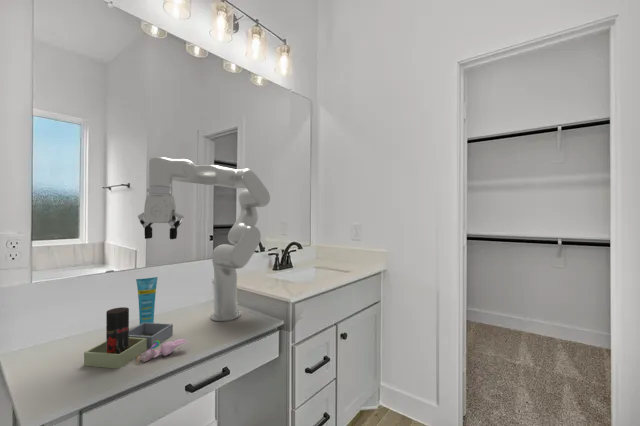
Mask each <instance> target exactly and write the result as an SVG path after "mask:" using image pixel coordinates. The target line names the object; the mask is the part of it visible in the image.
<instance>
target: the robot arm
mask: <svg viewBox="0 0 640 426" xmlns="http://www.w3.org/2000/svg"><path fill="white" fill-rule="evenodd" d="M173 181H175V182H181V183H190V184H191V183H192V184H198V185H206V186H214V187H215V186H217V187H225V188H230V189H243V190H242V191H241V192H240V193H239V195H238V202H239V206H240V214H239V215H238V217H237V219H236V220H235V222H234V224H233V225H232V227H231V228H230V230H229V231H228V234H227V241H228V242H229V243H230V244H225V243H223V244H220V245H218V246H216V247H214V249H213V251H212V253H211V254H212V255H211V261H212V266H213V277H214V279H213V282H214V283H213V285H214V286H213V295H214V296H213V312H211V313H210V317H209V318H210V319H211V321H216V322H229V321H233V320H236V319H238V318H239V317H240V316H241V311H240V310H238V309H237V307H238V306H239V302H238V295H237V294H238V273H237V270H240V269H242V268H244V267H245V266H246V265H248V263H249V261H250V260H251V259H252V257H253V255H254V253H255V251H256V250H257V248H258V246H259V244H260V242H261V235H262V234H261V231H260V229H259V228H258V227H257V226H256V224H257V222H258V219H259V216H258V210H257V208H262V207H266V206H267V205H268V204H269V203H270V201H271V195H270V192H269V190H268V188H267V187H266V185H265V184H264V183H263V181H262V180H261V179H260V177H259V176H258V175H257V174H256V173H255V171H254V170H252V169H251V168H241V169H238V168H237V169H235V168H231V167H227V166H221V165H217V164H205V165H199V164H198V165H196V164H195V163H194V162H193V161H191V160H189V159H187V158H186V159H185V158H181V159H180V158H179V159H178V158H174V159H173V158H168V157H164V156H163V157H162V156H152V157H150V159H149V160H148V188H146V192H147V193H148V195H147V194H146V197H145V203H144V206H143V207H144V209H143V210H144V211H143V212H142V213H140V214H138V216H137V218H138V220H139V223H140V224H141V225H142V227H143V228H144V239H145V240H147V239H149V240H150V239H152V238H153V227H152V226H153V224H168V225H169V226H170V228H169V239H170V240H175V239H177V238H178V237H177V236H178V228H179V227H180V225H181V224H182V222H183V220H184V218H185V217H184V215H182V214H181V213H179V212H178V211H177V209H176V208H177V207H176V199H175V196H174V195H173Z"/></svg>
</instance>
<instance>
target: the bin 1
mask: <svg viewBox="0 0 640 426" xmlns="http://www.w3.org/2000/svg"><path fill="white" fill-rule="evenodd" d="M147 350H148V349H147V338H133V337H129V348H128V349H127V350H125V351H123V352H122V353H120V354H111V353H106V340H105V341H103V342H101V343H100V344H97V345H96V346H93V347H92V348H90V349H88V350H86V351H84V352H83V366H84V367H94V368H95V367H96V368H106V369H107V368H108V369H121V368H123V367H124V366H125V364H126V365H127V364H129V363H130V362H132V361H133V360H134V359H136V356H138V355H139V354H143V353H144V352H145V351H147ZM138 357H139V356H138Z"/></svg>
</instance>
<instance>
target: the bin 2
mask: <svg viewBox="0 0 640 426" xmlns="http://www.w3.org/2000/svg"><path fill="white" fill-rule="evenodd" d="M173 327H174V326H173V323H159V322H158V323H157V322H154V323H146V322H144V323H142V324H140V323H139V324H138V325H136V326H134V327H133V328H131V329H129V337H133V338H147V350H149V349H150V348H151V347H152V346H153V345H154V344H156V342H154V341H156V340H159V341H160V344H161V343H163V342H164V341H165V340H167V339H169V338H170V337H171V336H173V335H174V330H173V329H174V328H173ZM146 334H147V335H146Z"/></svg>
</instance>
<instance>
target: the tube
mask: <svg viewBox="0 0 640 426" xmlns="http://www.w3.org/2000/svg"><path fill="white" fill-rule="evenodd" d="M135 282H136V286H137V299H138V316H139V317H138V318H139V325H140V324H142V323H144V322H146V323H155V321H154V320H155V307H156V306H155V305H156V304H155V303H156V293H157V284H158V276H154V277H146V278H135Z"/></svg>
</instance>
